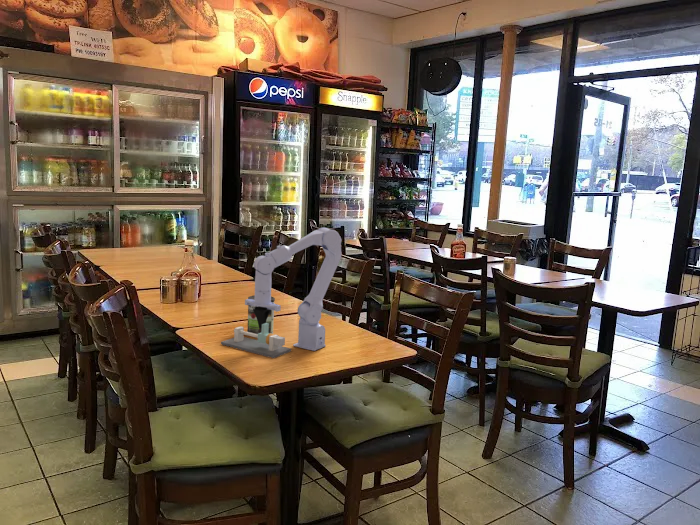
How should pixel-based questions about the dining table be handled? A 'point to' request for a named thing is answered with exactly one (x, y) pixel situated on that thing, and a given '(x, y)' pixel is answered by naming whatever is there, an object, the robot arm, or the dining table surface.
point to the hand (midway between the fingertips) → (261, 327)
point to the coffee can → (252, 319)
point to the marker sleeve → (263, 333)
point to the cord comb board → (257, 343)
